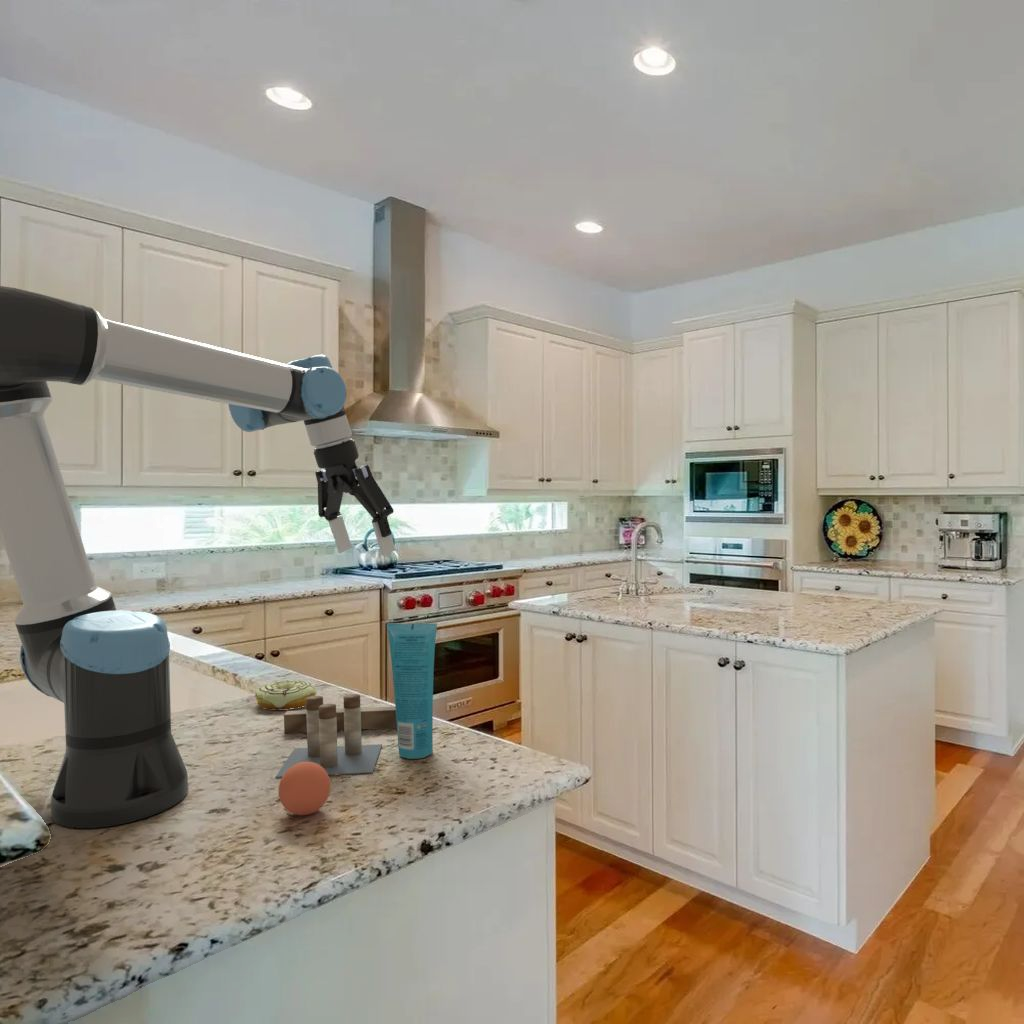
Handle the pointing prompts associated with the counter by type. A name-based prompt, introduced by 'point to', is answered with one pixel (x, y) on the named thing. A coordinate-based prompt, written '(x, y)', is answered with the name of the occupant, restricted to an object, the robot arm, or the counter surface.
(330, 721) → the front pin
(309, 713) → the peg
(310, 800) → the ball
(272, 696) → the decorated donut
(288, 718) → the back rail
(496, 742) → the counter surface
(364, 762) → the plate
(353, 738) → the rear pin left
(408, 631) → the tube
